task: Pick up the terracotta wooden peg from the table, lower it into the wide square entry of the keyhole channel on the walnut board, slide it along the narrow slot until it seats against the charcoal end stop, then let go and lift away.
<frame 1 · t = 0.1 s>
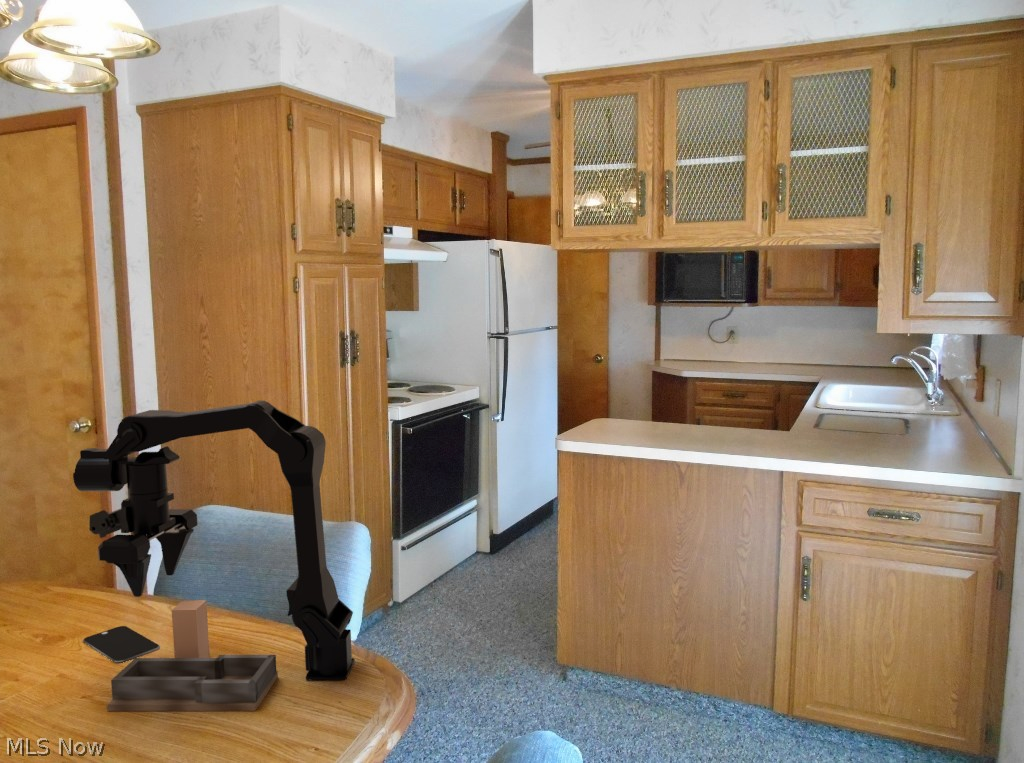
hand: (154, 585, 122), 14 cm above the table, tool pointing down, fingers open, 9 cm apart
smartphone: (121, 647, 134), on the table
keyhole board: (196, 693, 116), on the table
peg: (192, 662, 127), on the table
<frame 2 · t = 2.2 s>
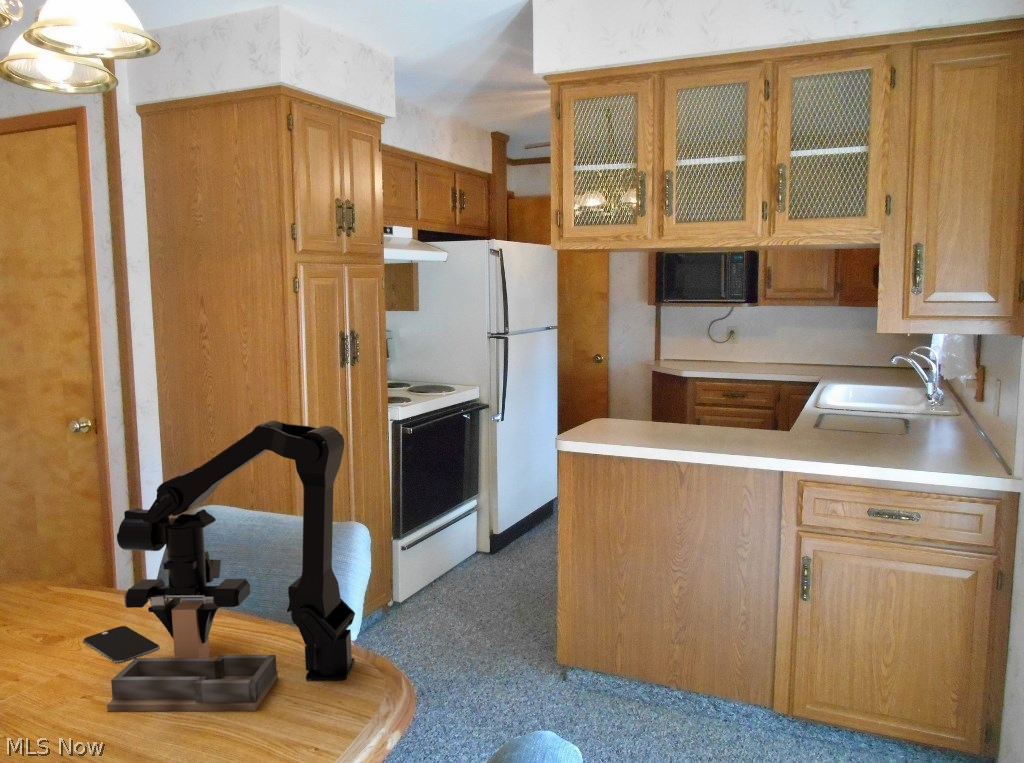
hand: (191, 642, 126), 4 cm above the table, tool pointing down, fingers closed on peg, 4 cm apart
peg: (192, 662, 127), on the table, touching gripper
everything else where it was.
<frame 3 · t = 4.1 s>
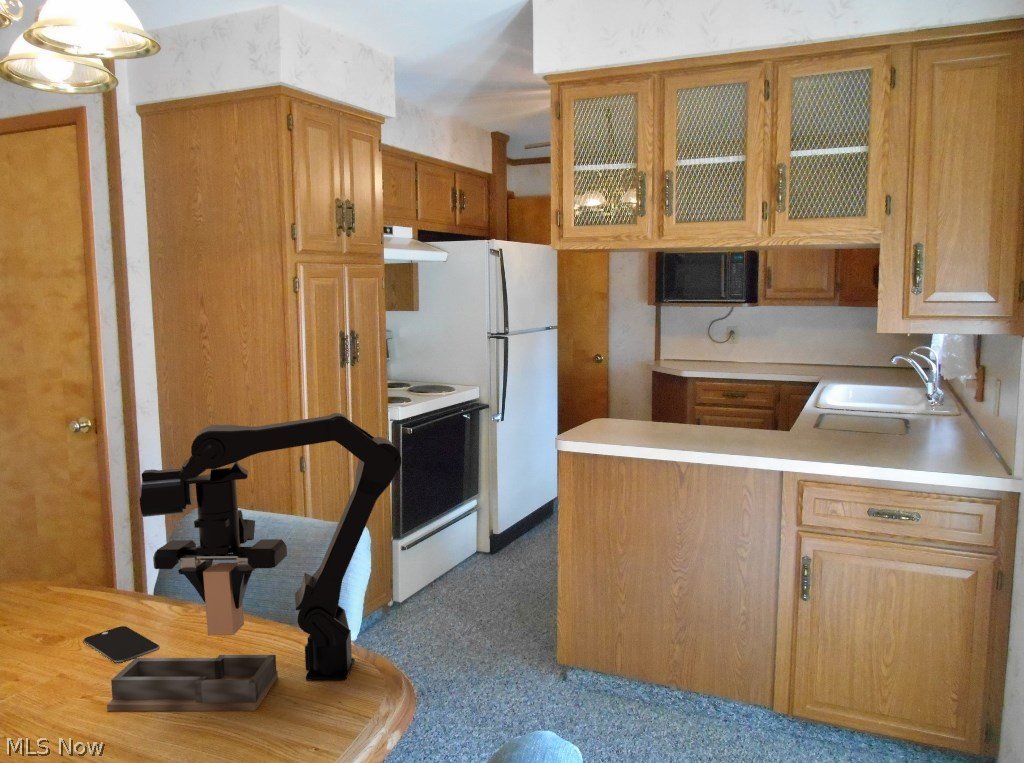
hand: (225, 607, 117), 13 cm above the table, tool pointing down, fingers closed on peg, 4 cm apart
peg: (226, 629, 117), point 9 cm above the table, touching gripper
everything else where it was.
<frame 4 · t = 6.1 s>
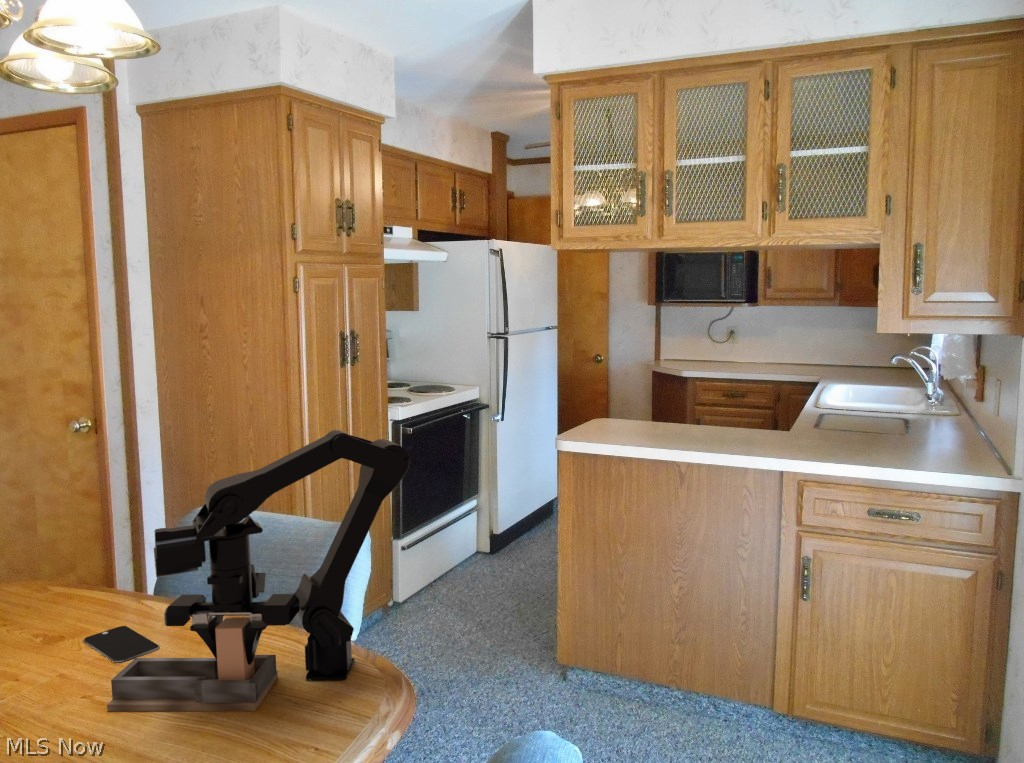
hand: (236, 663, 116), 5 cm above the table, tool pointing down, fingers closed on peg, 4 cm apart
peg: (237, 685, 116), point 1 cm above the table, touching gripper
everything else where it was.
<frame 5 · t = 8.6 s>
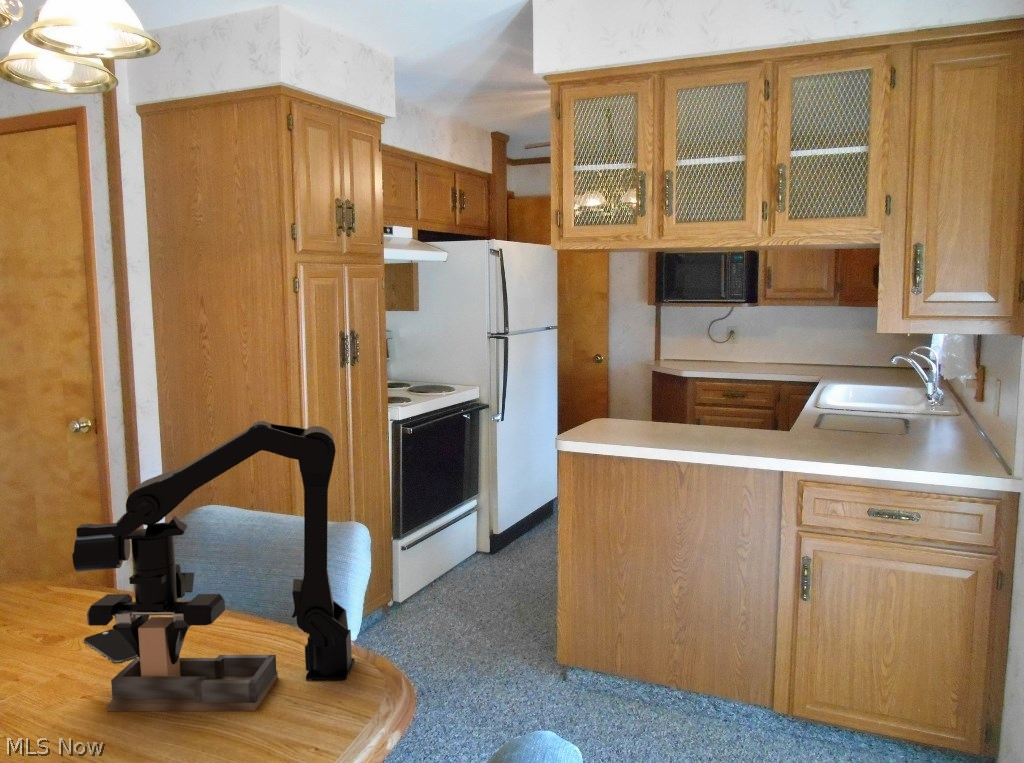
hand: (160, 663, 116), 5 cm above the table, tool pointing down, fingers closed on peg, 4 cm apart
peg: (161, 685, 116), point 1 cm above the table, touching gripper
everything else where it was.
when the fingers open (5 cm above the table, at t = 10.5 s): peg stays where it is, resting on keyhole board.
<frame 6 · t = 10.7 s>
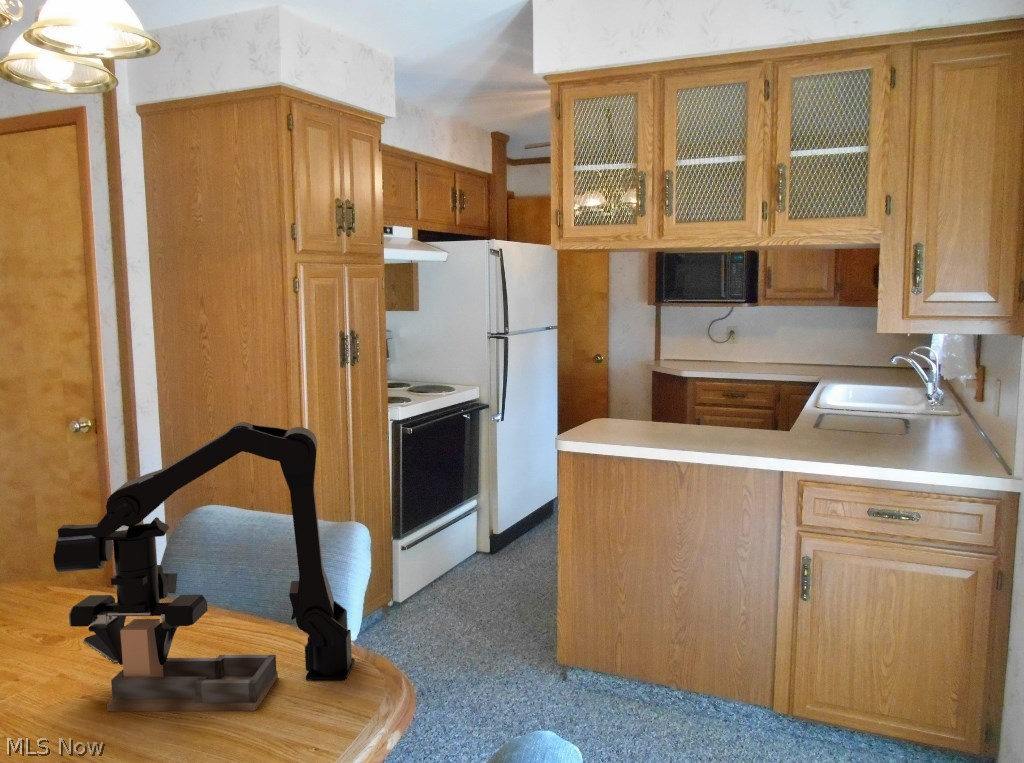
hand: (143, 663, 116), 5 cm above the table, tool pointing down, fingers open, 6 cm apart
peg: (144, 686, 116), point 1 cm above the table, touching keyhole board
everything else where it was.
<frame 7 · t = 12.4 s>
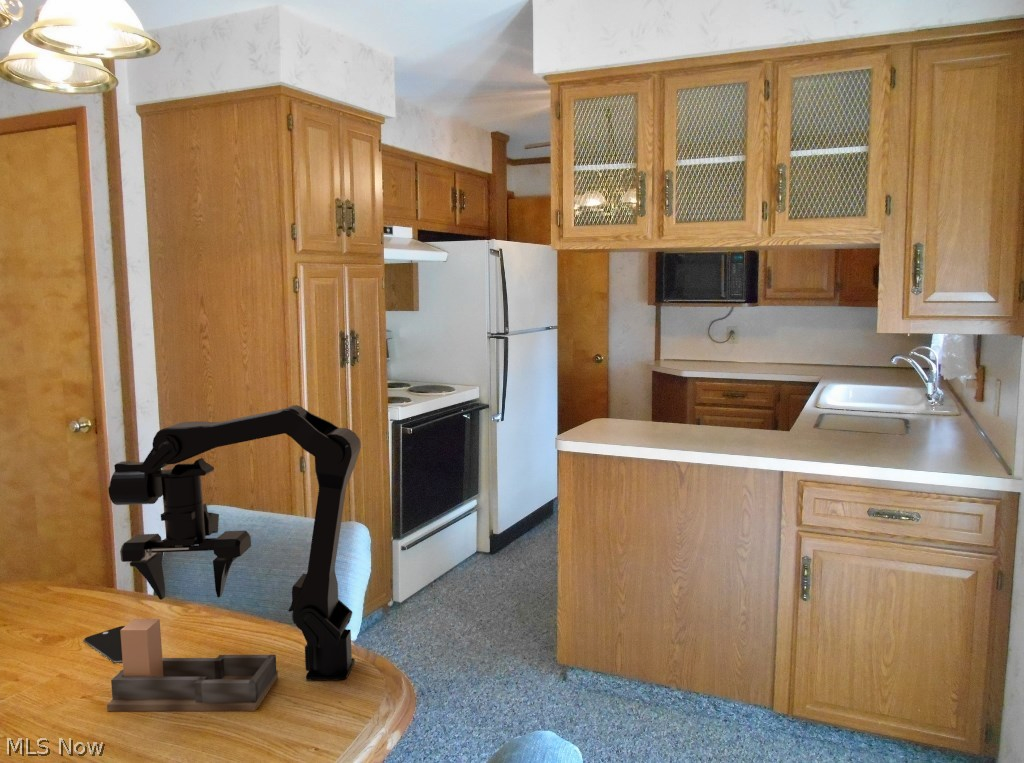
hand: (191, 597, 122), 13 cm above the table, tool pointing down, fingers open, 9 cm apart
nothing on the table moved.
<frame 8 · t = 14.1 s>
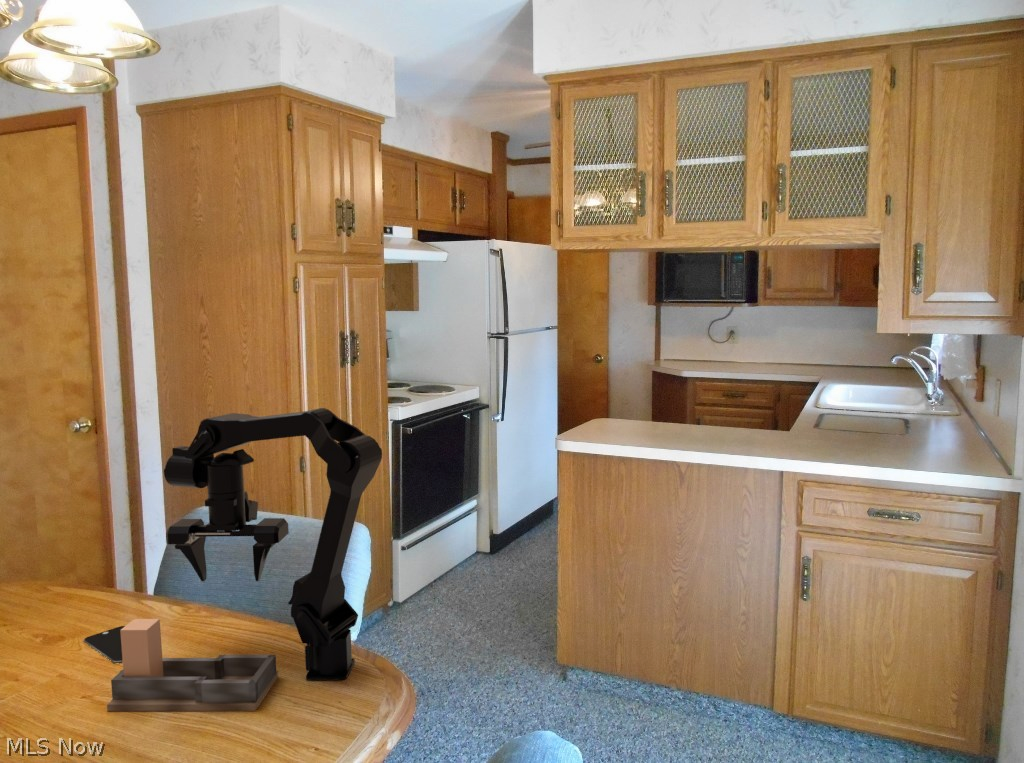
hand: (231, 580, 128), 13 cm above the table, tool pointing down, fingers open, 9 cm apart
nothing on the table moved.
at the end: peg 0.2 cm from the target spot on the keyhole board, point 1.1 cm above the keyhole board's base; peg tilted 0°; the gripper is holding nothing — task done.
